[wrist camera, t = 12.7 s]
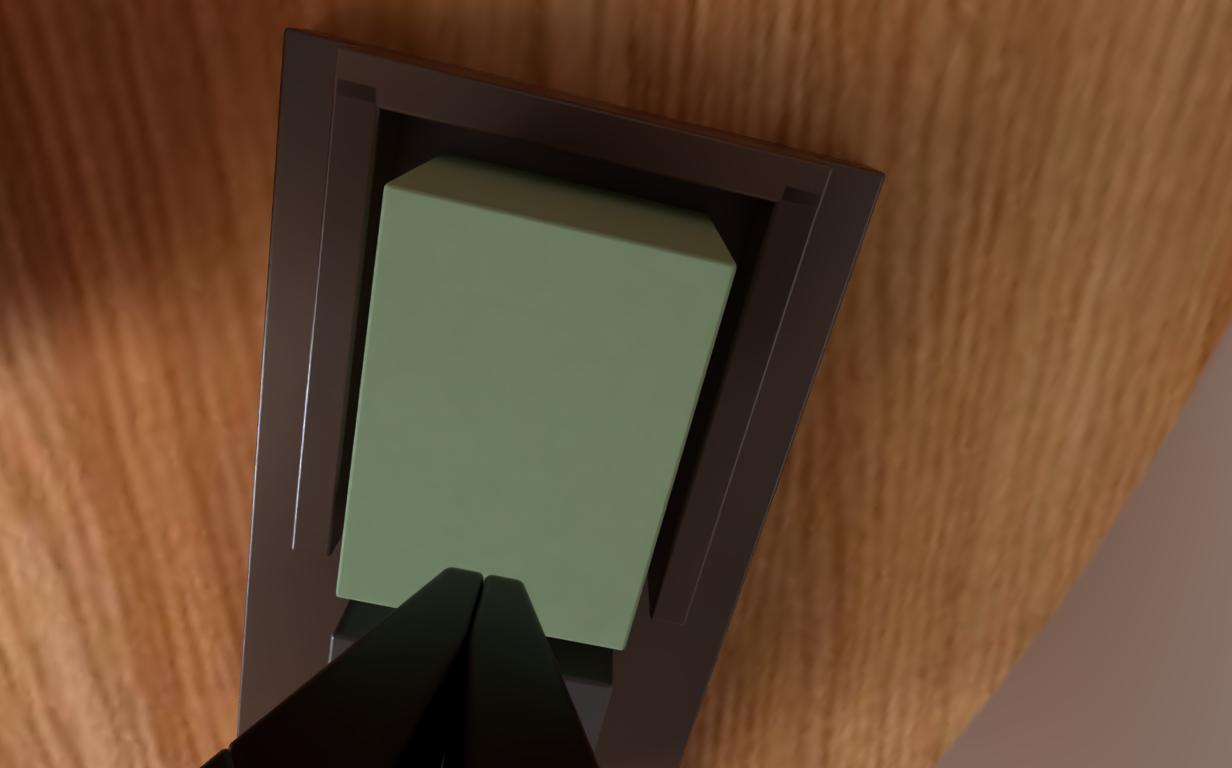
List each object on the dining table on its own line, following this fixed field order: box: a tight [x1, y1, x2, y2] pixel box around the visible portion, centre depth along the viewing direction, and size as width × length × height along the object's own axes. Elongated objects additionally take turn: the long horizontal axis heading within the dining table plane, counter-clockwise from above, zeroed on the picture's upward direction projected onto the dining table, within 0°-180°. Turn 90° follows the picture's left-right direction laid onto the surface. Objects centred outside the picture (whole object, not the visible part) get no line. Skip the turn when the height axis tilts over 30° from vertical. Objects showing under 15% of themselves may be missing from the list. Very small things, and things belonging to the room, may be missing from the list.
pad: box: [336, 153, 737, 650], centre depth 14 cm, size 5×7×4 cm
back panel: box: [237, 28, 885, 768], centre depth 16 cm, size 11×17×5 cm, turn 167°
